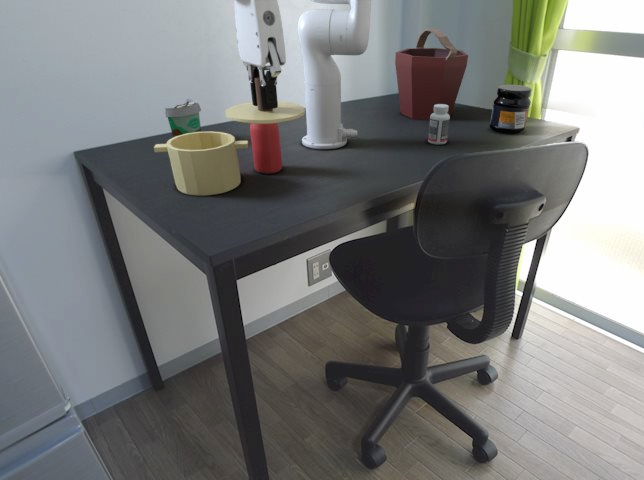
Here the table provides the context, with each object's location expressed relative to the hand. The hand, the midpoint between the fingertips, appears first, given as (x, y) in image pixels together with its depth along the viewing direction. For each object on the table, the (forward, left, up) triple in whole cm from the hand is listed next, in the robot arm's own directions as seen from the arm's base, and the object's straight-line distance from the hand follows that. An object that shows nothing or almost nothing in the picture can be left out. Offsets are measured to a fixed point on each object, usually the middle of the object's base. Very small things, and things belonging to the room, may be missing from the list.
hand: (265, 105), depth 84 cm
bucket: (-40, -72, -18) cm, 84 cm away
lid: (0, 0, -1) cm, 1 cm away
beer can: (+4, -16, -18) cm, 25 cm away
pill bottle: (-40, -40, -18) cm, 60 cm away
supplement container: (-63, -53, -18) cm, 84 cm away
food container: (+29, -38, -18) cm, 51 cm away
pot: (+16, -7, -18) cm, 25 cm away
